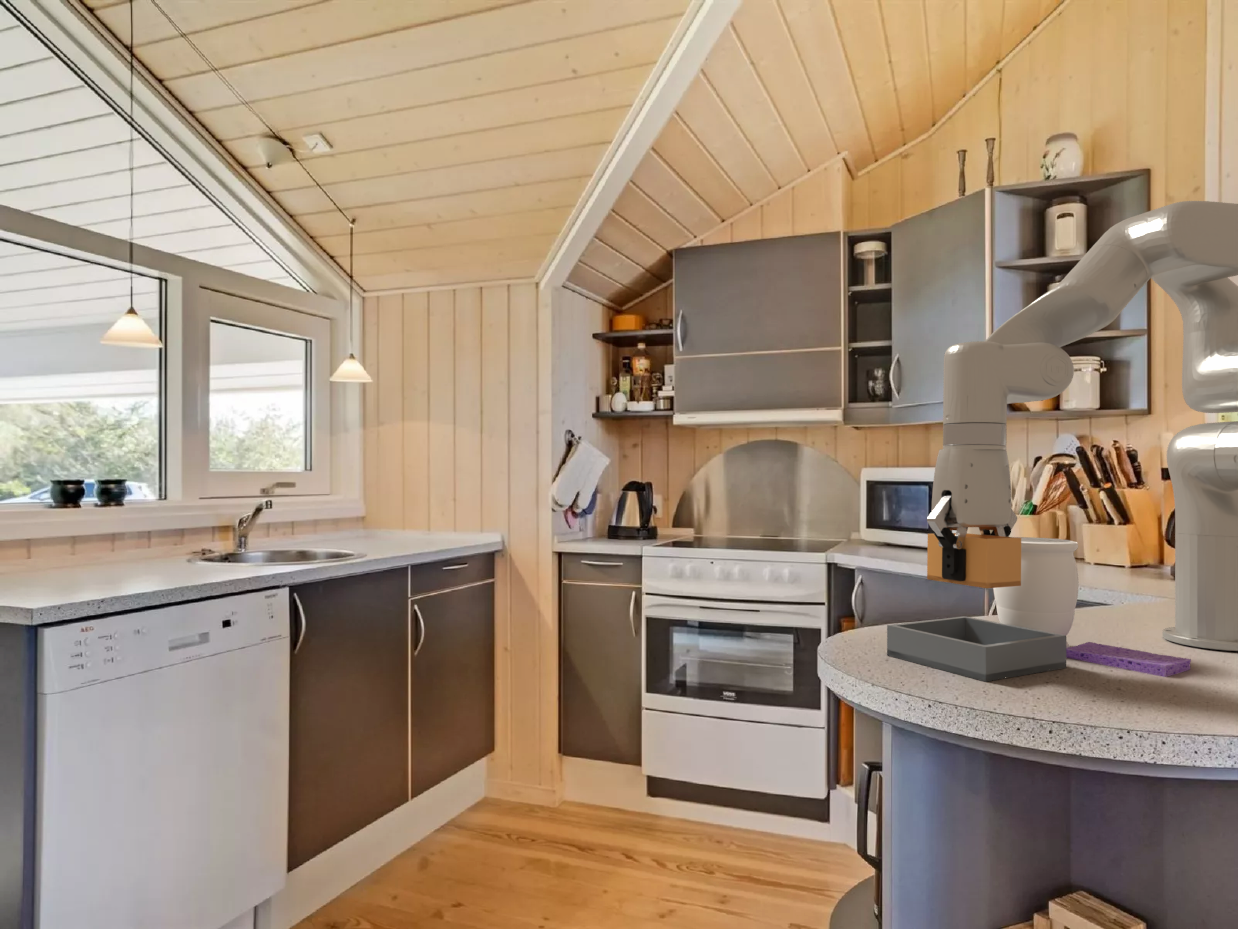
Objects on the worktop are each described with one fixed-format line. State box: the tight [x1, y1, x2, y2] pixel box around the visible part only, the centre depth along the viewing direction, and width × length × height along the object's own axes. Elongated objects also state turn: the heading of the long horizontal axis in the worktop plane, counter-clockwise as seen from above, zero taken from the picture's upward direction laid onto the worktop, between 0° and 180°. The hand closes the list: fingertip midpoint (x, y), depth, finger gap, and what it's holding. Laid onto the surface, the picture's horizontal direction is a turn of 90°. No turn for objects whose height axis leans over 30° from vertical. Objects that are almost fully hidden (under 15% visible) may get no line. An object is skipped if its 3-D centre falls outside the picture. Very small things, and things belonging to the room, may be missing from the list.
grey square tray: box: [886, 615, 1067, 682], centre depth 104 cm, size 15×15×4 cm
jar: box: [992, 536, 1080, 648], centre depth 112 cm, size 11×10×15 cm
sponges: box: [1066, 641, 1192, 678], centre depth 103 cm, size 7×13×2 cm, turn 33°
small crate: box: [926, 532, 1021, 589], centre depth 104 cm, size 6×9×6 cm
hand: (972, 577), depth 104 cm, fingers closed on small crate, 6 cm apart
